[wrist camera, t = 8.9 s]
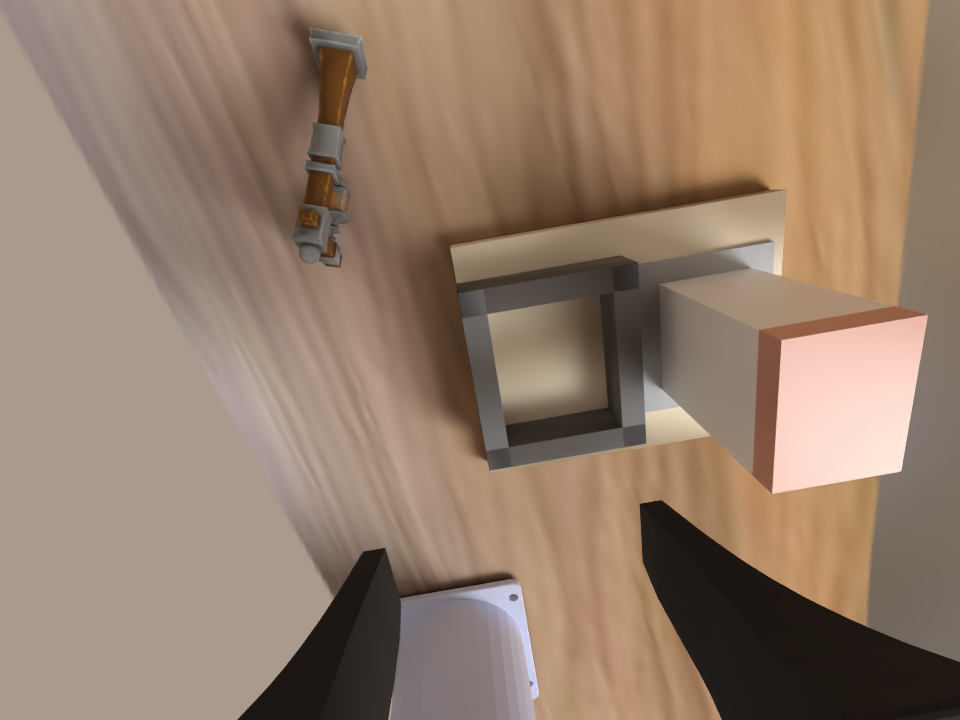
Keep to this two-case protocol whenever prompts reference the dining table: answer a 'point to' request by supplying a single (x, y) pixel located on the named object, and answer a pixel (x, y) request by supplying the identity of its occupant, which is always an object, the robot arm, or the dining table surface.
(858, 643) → the robot arm
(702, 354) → the plug
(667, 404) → the board
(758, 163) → the dining table surface
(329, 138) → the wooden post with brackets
